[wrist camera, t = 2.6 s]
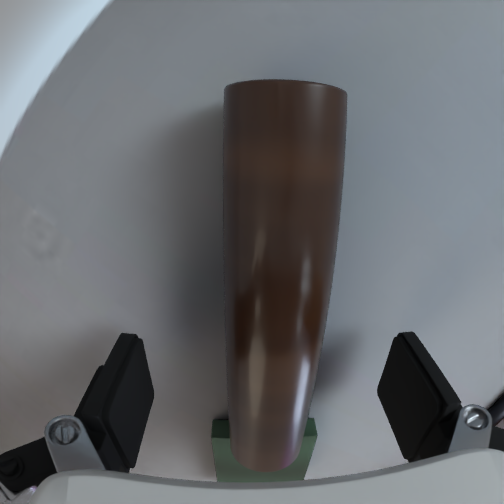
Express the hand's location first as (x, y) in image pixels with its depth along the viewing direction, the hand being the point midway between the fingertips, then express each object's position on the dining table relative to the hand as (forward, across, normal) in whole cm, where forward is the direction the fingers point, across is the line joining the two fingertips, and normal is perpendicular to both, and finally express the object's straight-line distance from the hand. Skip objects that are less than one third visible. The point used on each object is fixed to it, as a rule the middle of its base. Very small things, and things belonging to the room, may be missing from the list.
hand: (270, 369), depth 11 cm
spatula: (+1, 0, +1) cm, 2 cm away
